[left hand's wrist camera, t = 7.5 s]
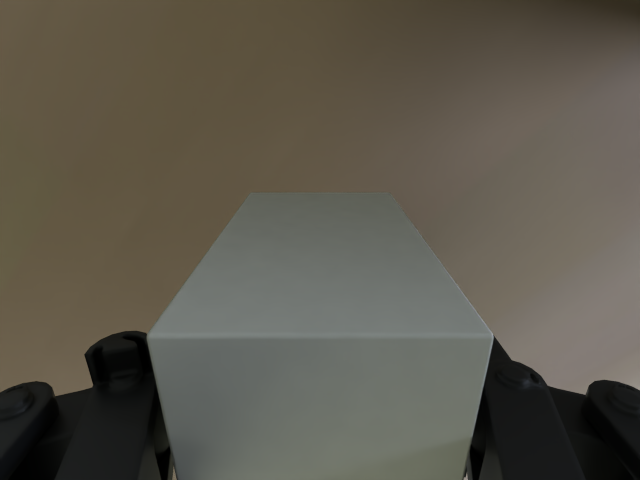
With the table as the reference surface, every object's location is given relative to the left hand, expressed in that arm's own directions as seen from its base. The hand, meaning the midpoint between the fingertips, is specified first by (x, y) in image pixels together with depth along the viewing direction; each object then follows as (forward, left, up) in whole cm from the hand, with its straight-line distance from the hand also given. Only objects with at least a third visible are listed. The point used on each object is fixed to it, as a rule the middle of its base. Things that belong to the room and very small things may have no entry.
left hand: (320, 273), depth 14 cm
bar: (-3, +10, -1) cm, 10 cm away
